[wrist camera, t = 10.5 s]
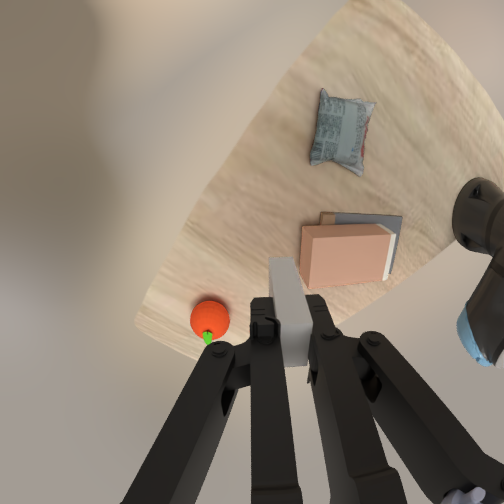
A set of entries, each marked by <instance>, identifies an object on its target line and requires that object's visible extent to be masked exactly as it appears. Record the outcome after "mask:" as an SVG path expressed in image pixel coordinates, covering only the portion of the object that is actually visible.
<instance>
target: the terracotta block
mask: <svg viewBox="0 0 504 504" xmlns="http://www.w3.org/2000/svg"><path fill="white" fill-rule="evenodd" d="M395 239H396V234H395V233H394V232H392V231H391V230H389V229H388V228H386V227H385V226H383V225H382V224H345V225H317V226H302V240H301V256H300V270H299V273H300V275H301V277H302V279H303V280H304V282H305V284H306V286H307V288H308V289H314V288H324V287H333V286H342V285H350V284H359V283H367V282H374V281H382V280H387V278H388V273H389V269H390V264H391V259H392V254H393V249H394V244H395Z"/></svg>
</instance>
